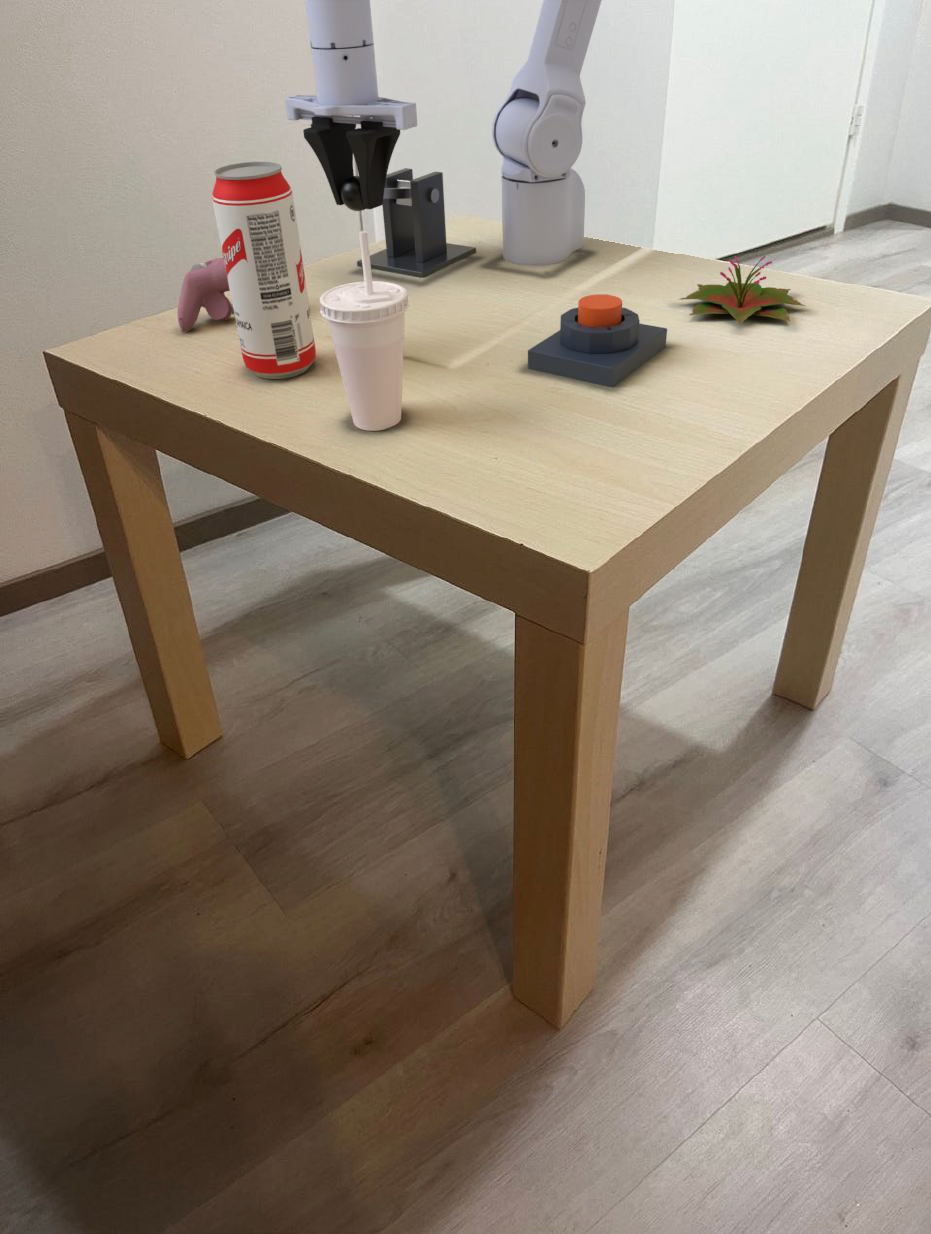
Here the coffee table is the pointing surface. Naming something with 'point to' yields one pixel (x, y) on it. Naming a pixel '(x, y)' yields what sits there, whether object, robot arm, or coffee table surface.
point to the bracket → (417, 230)
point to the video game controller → (204, 293)
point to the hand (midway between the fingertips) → (359, 205)
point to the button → (599, 310)
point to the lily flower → (742, 297)
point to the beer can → (264, 268)
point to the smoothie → (369, 344)
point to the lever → (400, 193)
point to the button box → (597, 349)
